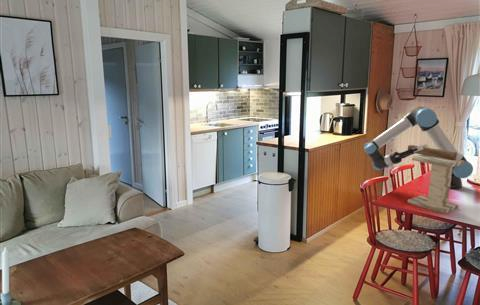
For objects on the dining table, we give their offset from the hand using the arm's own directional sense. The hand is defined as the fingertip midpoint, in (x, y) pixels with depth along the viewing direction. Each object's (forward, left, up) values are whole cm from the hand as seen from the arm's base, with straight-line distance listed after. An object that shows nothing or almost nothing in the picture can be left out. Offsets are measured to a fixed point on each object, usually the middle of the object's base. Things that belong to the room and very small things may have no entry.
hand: (424, 146), depth 223 cm
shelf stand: (+5, +11, -34) cm, 36 cm away
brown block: (0, +4, -5) cm, 6 cm away
